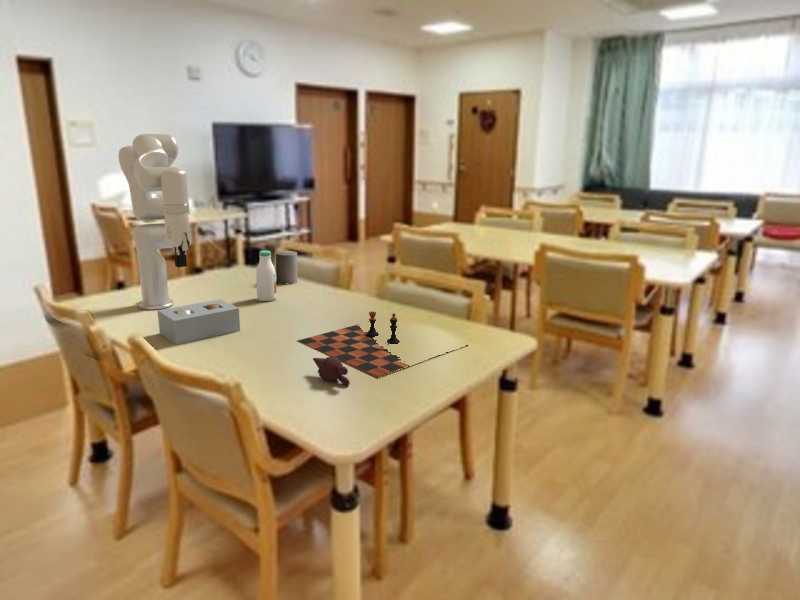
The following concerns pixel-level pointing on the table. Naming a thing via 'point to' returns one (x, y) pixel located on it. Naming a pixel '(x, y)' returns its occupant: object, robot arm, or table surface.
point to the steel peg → (183, 311)
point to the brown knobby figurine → (331, 369)
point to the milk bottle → (265, 278)
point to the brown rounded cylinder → (212, 306)
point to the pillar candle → (286, 267)
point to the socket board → (198, 321)
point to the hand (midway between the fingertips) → (181, 266)
